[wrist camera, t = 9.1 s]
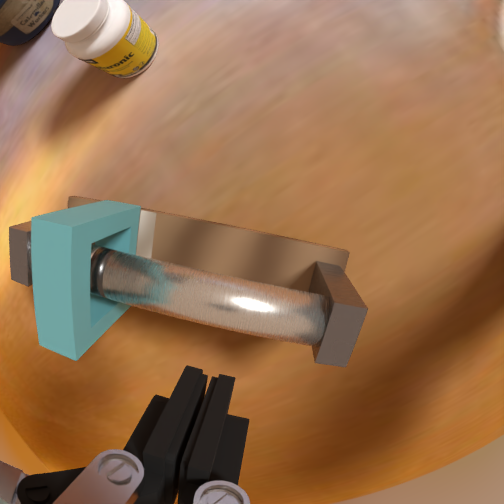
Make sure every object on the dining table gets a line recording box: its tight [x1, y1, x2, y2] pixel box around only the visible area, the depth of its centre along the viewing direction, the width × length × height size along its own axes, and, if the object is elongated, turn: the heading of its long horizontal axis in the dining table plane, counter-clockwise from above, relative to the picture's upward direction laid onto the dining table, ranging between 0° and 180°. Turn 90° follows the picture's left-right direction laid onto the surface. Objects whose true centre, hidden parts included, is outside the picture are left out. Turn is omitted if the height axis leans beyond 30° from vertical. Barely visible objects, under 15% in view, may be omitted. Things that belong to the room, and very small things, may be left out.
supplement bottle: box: [51, 0, 158, 78], centre depth 17 cm, size 5×5×10 cm
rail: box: [9, 221, 368, 367], centre depth 22 cm, size 24×4×9 cm, turn 79°
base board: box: [68, 196, 349, 292], centre depth 26 cm, size 25×6×1 cm, turn 79°
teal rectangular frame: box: [31, 200, 141, 361], centre depth 19 cm, size 3×8×9 cm, turn 169°
